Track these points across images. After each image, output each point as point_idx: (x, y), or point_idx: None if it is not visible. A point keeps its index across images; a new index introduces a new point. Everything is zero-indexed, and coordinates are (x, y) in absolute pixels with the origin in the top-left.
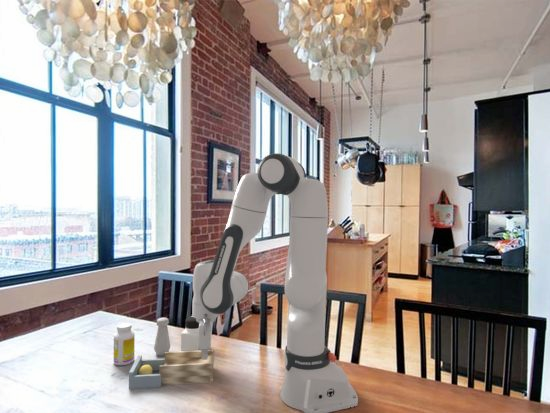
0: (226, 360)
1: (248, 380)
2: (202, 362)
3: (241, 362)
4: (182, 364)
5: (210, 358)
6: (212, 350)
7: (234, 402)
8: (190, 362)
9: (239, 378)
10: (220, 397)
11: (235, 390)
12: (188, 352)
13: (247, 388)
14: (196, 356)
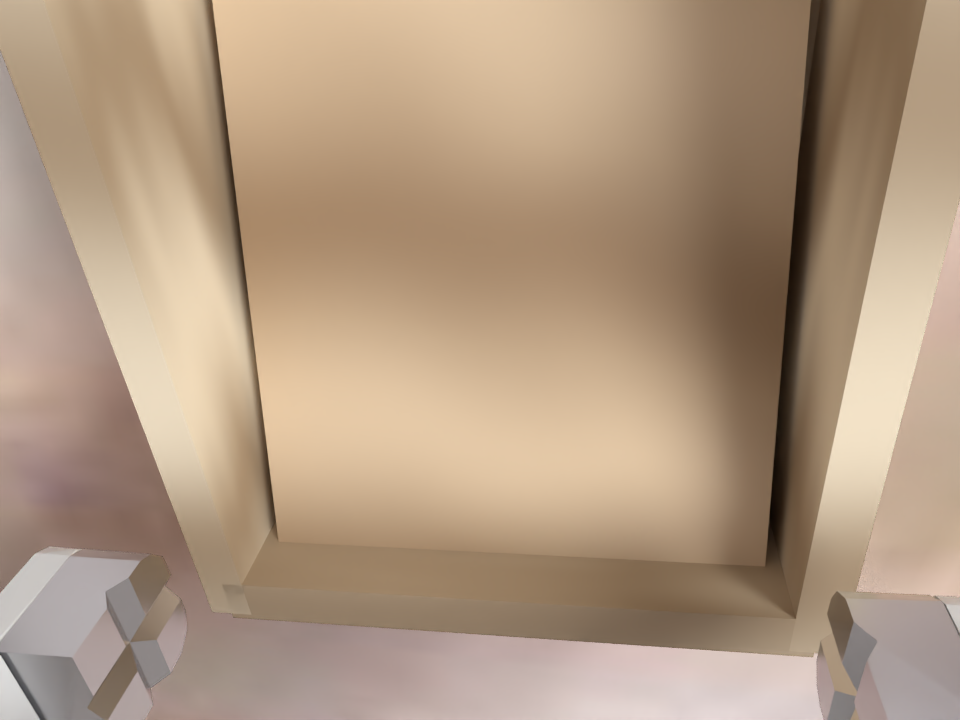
0: (937, 575)
1: (391, 703)
2: (490, 392)
3: (809, 705)
4: (27, 5)
5: (558, 546)
6: (801, 637)
7: (13, 574)
8: (686, 96)
9: (430, 648)
10: (52, 477)
11: (202, 598)
12: (902, 56)
13: (251, 678)
14: (824, 253)
